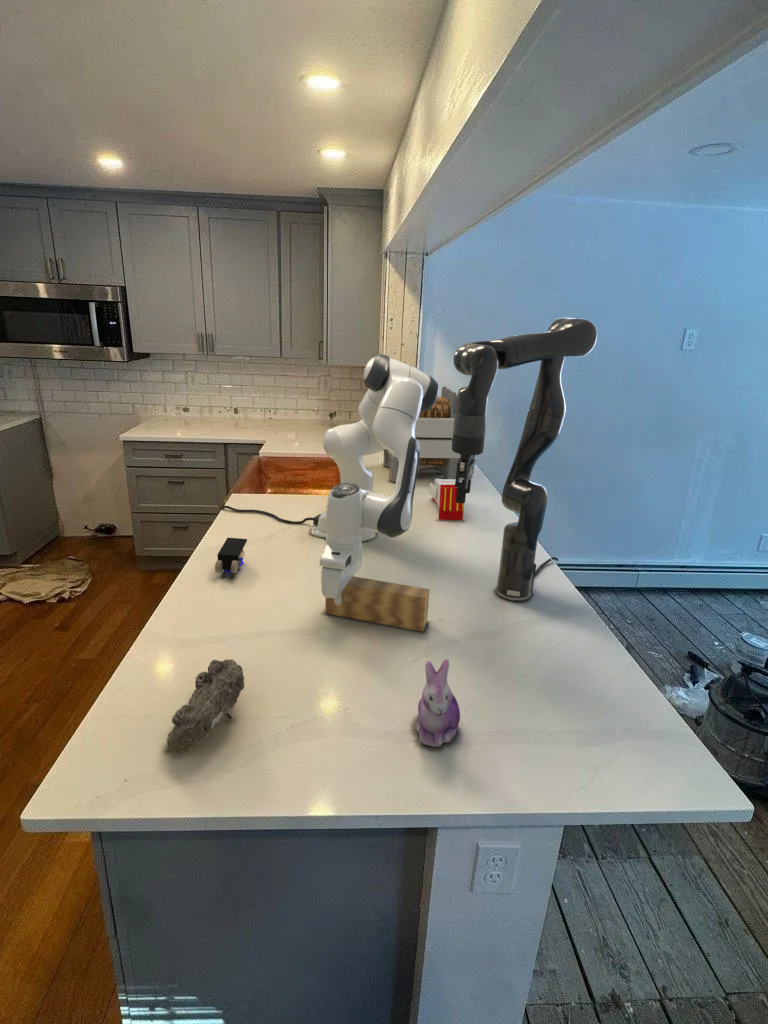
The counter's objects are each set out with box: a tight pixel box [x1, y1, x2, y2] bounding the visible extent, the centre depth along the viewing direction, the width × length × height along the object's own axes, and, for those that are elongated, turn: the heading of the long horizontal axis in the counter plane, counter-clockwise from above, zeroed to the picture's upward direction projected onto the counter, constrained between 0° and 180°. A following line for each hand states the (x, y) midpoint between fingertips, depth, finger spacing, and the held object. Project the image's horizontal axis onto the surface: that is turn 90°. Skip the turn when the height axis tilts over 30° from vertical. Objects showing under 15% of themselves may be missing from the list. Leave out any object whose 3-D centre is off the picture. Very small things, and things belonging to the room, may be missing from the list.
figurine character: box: [214, 537, 248, 578], centre depth 166 cm, size 7×8×15 cm
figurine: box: [415, 658, 461, 748], centre depth 104 cm, size 9×10×15 cm
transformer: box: [383, 386, 461, 483], centre depth 268 cm, size 34×33×41 cm
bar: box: [325, 575, 431, 633], centre depth 144 cm, size 26×5×9 cm, turn 74°
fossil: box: [166, 658, 245, 754], centre depth 106 cm, size 22×10×15 cm
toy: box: [428, 478, 465, 521], centre depth 226 cm, size 12×13×30 cm
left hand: (342, 597), depth 146 cm, fingers closed on bar, 5 cm apart
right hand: (462, 497), depth 139 cm, fingers open, 8 cm apart
